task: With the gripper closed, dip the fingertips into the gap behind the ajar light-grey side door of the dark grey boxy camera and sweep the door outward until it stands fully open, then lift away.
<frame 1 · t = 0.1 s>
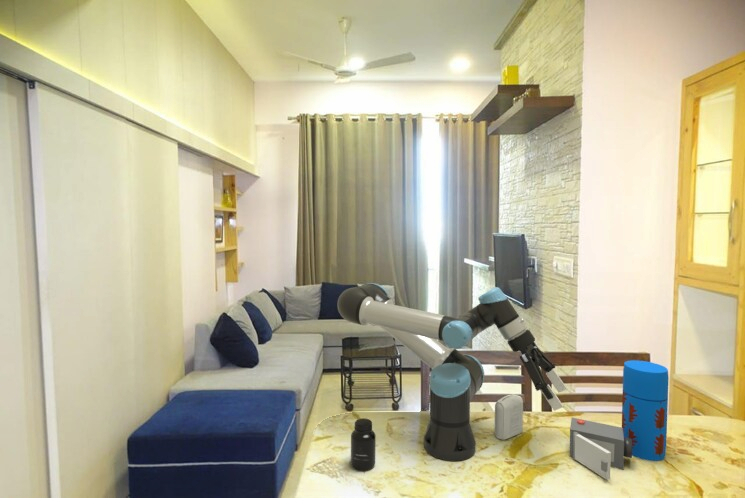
hand: (561, 399, 116), 15 cm above the table, tool tilted 35°, fingers open, 13 cm apart
supplement bottle: (363, 465, 111), on the table
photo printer: (508, 434, 126), on the table
thermos: (642, 451, 117), on the table
side door: (589, 455, 107), point 4 cm above the table, hinge at 40.0°
camera body: (595, 455, 114), on the table
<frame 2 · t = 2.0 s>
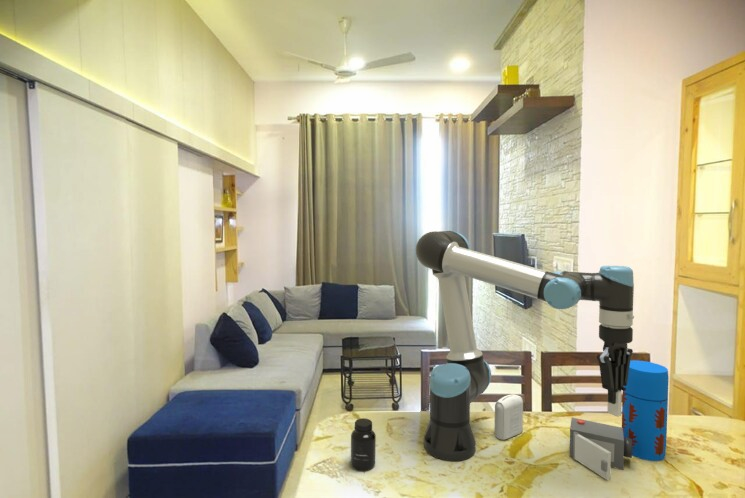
hand: (614, 414, 105), 16 cm above the table, tool pointing down, fingers closed
nothing on the table moved.
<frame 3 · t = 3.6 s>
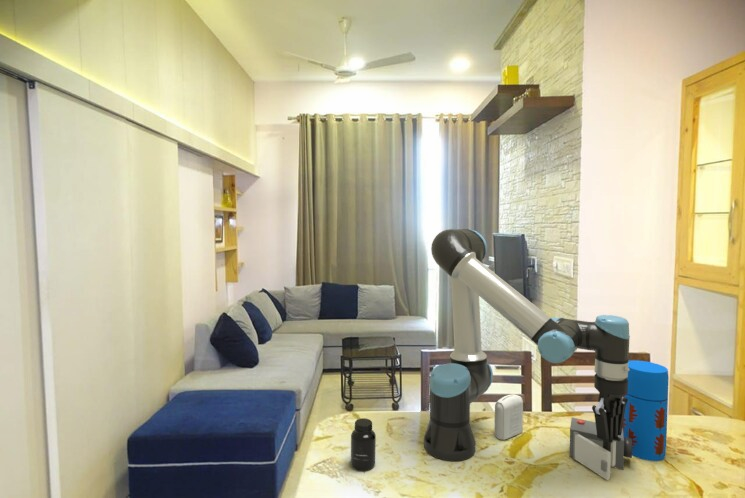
hand: (608, 463, 106), 3 cm above the table, tool pointing down, fingers closed
side door: (589, 455, 107), point 4 cm above the table, hinge at 40.3°, touching gripper
everything else where it was.
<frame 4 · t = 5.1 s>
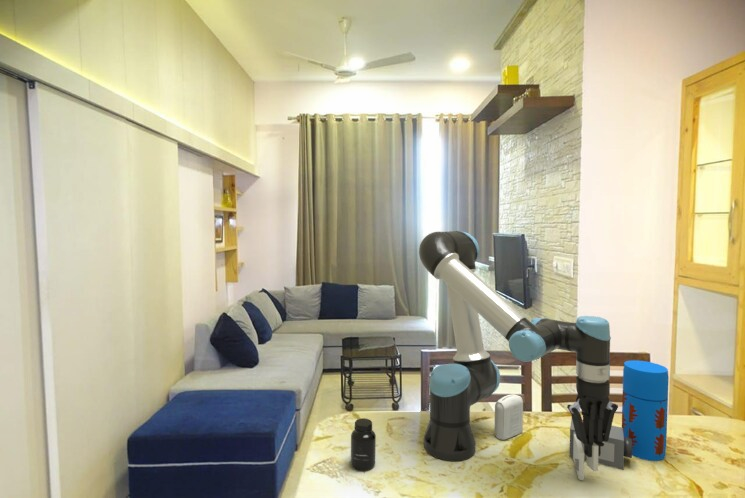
hand: (592, 467, 103), 3 cm above the table, tool pointing down, fingers closed
side door: (576, 454, 108), point 4 cm above the table, hinge at 80.2°, touching gripper
everything else where it was.
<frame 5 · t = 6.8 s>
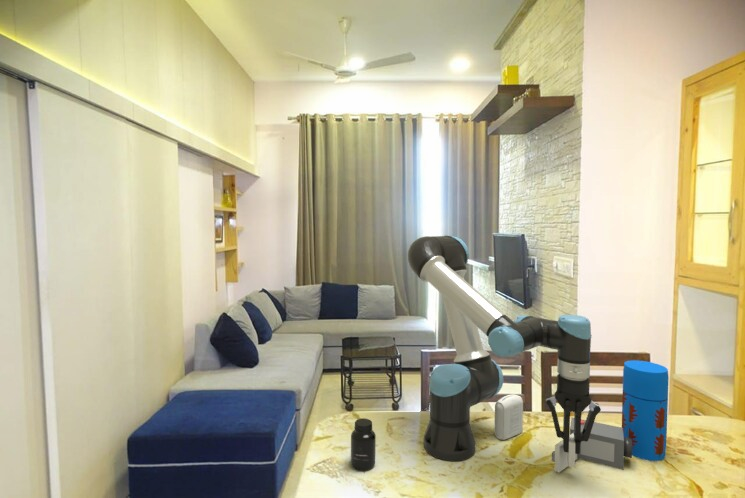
hand: (570, 464, 105), 3 cm above the table, tool pointing down, fingers closed
side door: (565, 451, 109), point 4 cm above the table, hinge at 112.7°, touching gripper
everything else where it was.
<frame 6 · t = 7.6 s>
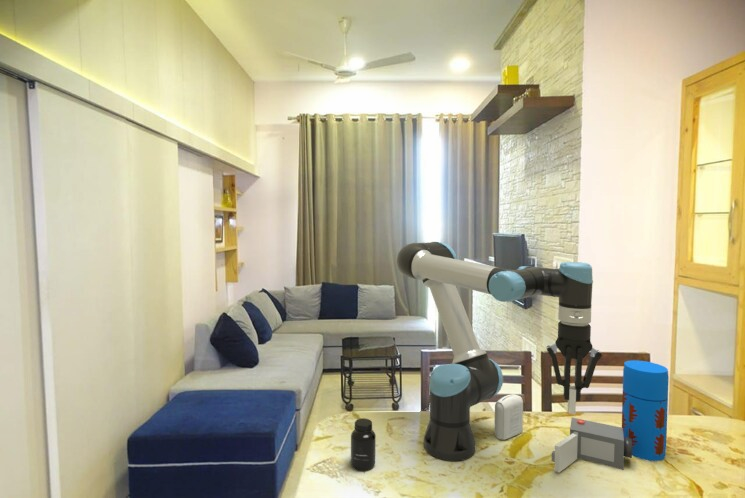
hand: (571, 411, 104), 17 cm above the table, tool pointing down, fingers closed
side door: (565, 451, 109), point 4 cm above the table, hinge at 112.8°
everything else where it was.
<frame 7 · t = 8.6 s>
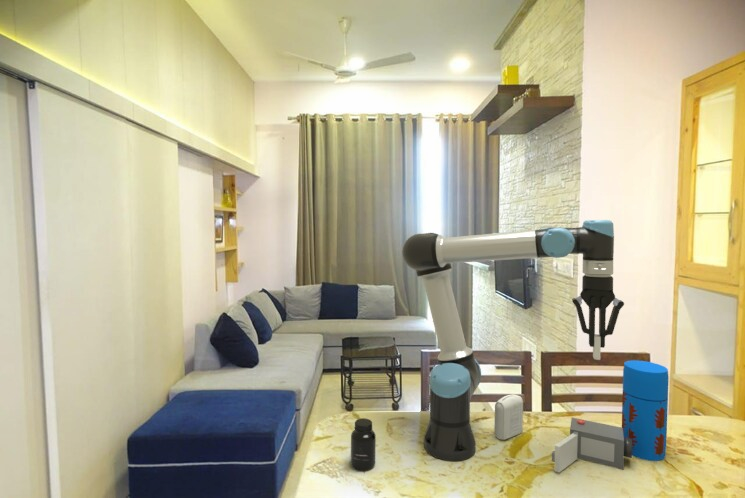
hand: (596, 358, 113), 28 cm above the table, tool pointing down, fingers closed
nothing on the table moved.
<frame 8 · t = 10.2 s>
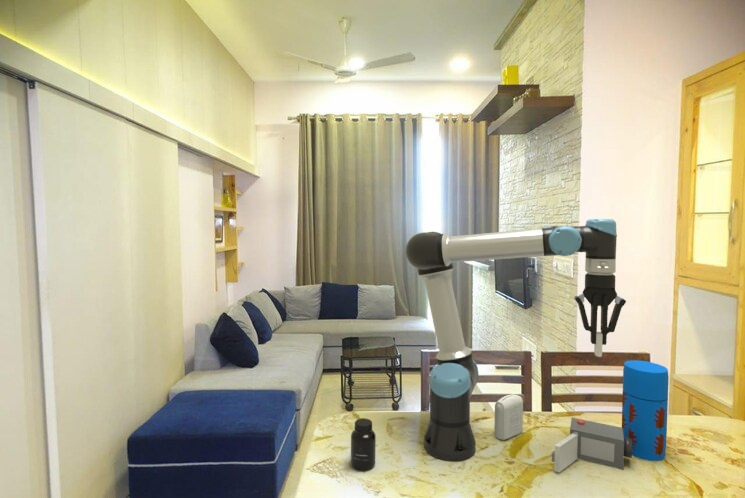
hand: (598, 355, 115), 28 cm above the table, tool pointing down, fingers closed
nothing on the table moved.
at the end: side door at +113° (first picture: +40°); side door touching nothing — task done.
